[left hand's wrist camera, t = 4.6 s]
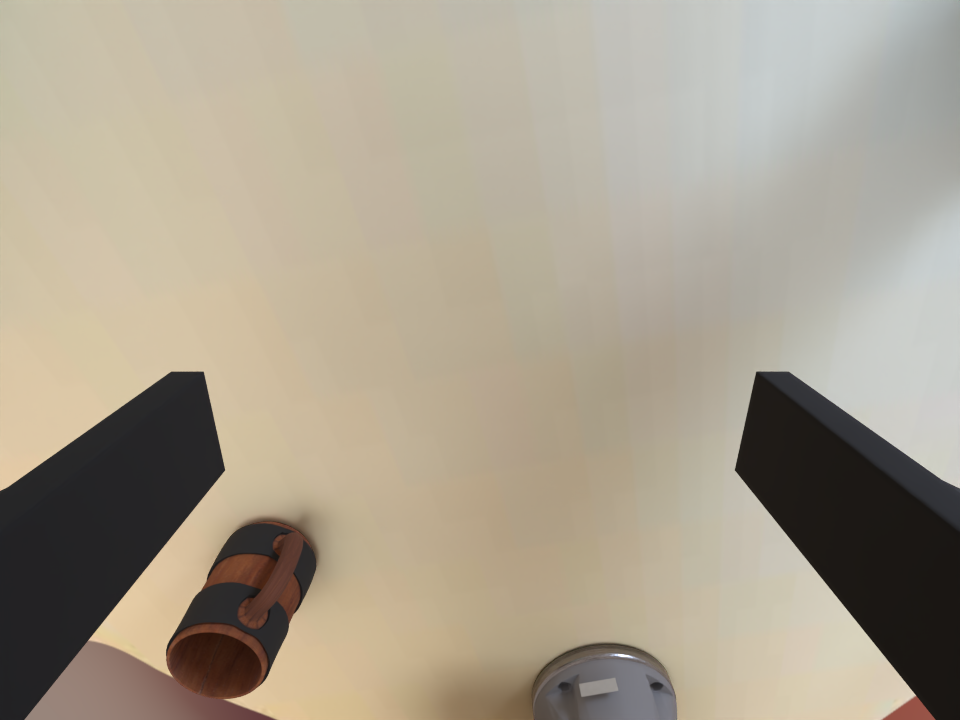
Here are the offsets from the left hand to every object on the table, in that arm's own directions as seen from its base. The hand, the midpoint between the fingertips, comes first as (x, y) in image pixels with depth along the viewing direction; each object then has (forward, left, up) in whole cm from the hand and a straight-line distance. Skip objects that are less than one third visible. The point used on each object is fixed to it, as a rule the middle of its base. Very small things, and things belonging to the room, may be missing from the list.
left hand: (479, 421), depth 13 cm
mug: (-28, +19, -28) cm, 44 cm away
